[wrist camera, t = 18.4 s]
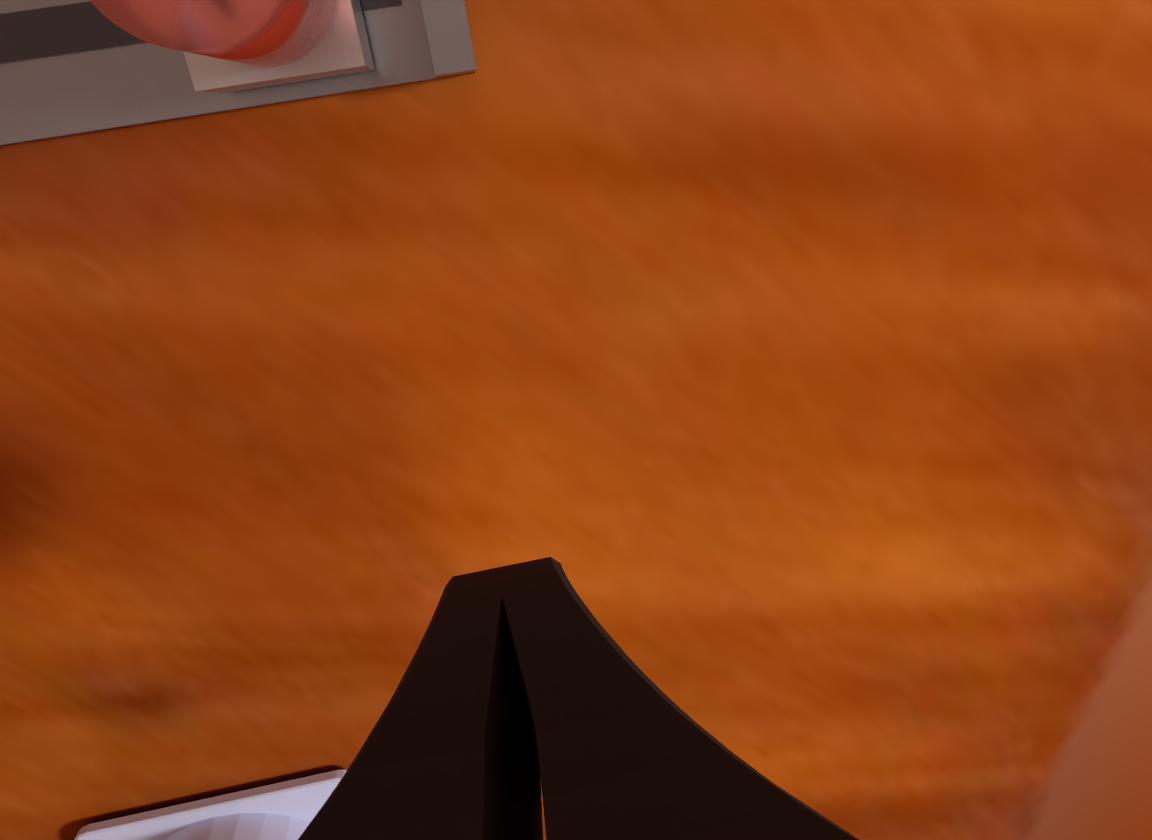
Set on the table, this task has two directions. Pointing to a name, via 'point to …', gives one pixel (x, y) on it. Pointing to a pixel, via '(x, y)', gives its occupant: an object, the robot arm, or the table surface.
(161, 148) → the table surface
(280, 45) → the lever
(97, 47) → the lever rail
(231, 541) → the table surface
